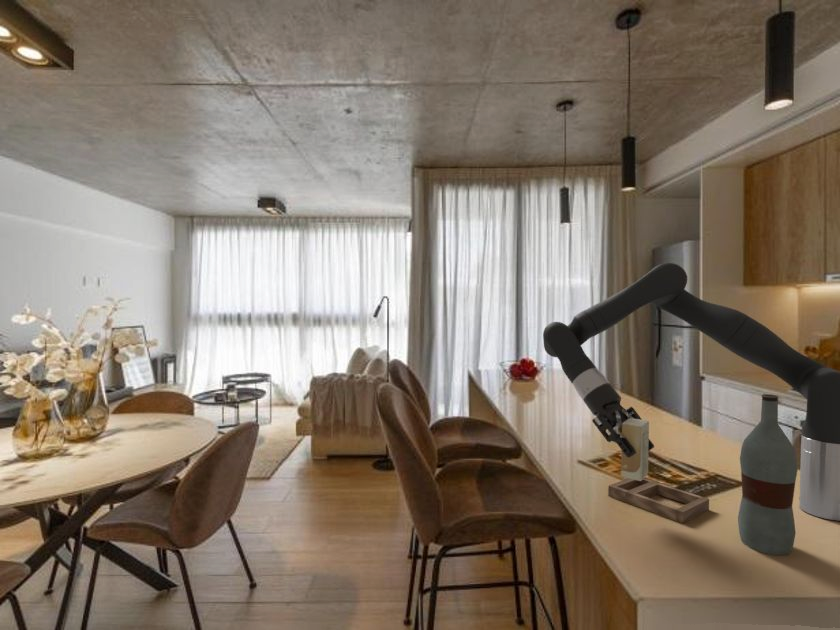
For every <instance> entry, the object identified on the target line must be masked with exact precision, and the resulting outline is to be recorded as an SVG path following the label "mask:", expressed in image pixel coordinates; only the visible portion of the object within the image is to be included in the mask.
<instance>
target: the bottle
mask: <svg viewBox="0 0 840 630" xmlns="http://www.w3.org/2000/svg"><path fill="white" fill-rule="evenodd" d="M779 398H780V397H779V396H778V395H775V394H771V393H770V394H769V393H766V394H765V393H762V395H761V407H760V408H761V409H760V411H761V412H760V421H759V422H758V423H757V424H756V425H755V427H754V428H753V429H752V431H750V432H749V434H748V435H747V436H746V437H745V438H744V439H743V441H742V445H741V448H740V455H739V461H740V462H739V464H740V473H741V492H742V493H741V494H742V496H741V500H740V505H739V508H738V509H739V510H738V515H737V523H738V524H737V525H738V531H739V532H738V533H739V537H740V540H741V542H742V543H743V544H744V545H746V546H747V547H748V548H750V549H753V550H755V551H758V552H760V553H764V554H766V555H767V554H769V555H773V556H787V555H789V554H790V553H791V552H792V550H793V547H794V544H795V539H796V538H795V537H796V533H797V532H796V525H795V516H794V510H793V502H794V497H795V496H794V495H795V488H796V487H795V486H796V482H797V481H796V480H797V479H796V478H797V474H798V470H799V467H798V460H797V459H798V458H797V453H796V450H795V447H794V445H793V444H792V442H791V441H790V439H789V438H788V437H787V435H786V433H785V432H784V430H783V429H782V427H781V426H780V424H779V423H778V422H779V421H778V420H779V419H778V418H779Z"/></svg>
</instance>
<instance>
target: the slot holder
mask: <svg viewBox="0 0 840 630" xmlns="http://www.w3.org/2000/svg"><path fill="white" fill-rule="evenodd" d="M607 487H608V490H607V492H608V493H607V494H608V495H607V496H608V497H610V498H614V499H616V500H619V501H621V502H625V503H627V504H629V505H632V506H635V507H638V508H640V509H643V510H646V511H647V512H651V513H654V514H656V515H660V516H662V517H664V518H667V519H671V520H673V521H674V522H678V523H681V524H685V523H686V522H688V521H690V520H692V519H693V518H696V517H697V516H700V515H701V514H703V513H705V512H707V511H709V509H710V499H709V498H708V497H704V496H701V495H698V494H694V493H692V492H689V491H686V490H684V489H683V490H682V489H679V488H676V487H673V486H669V485H667V484H663V483H660V482H658V481H654V480H651V479H648V478H646V477H644V479H643V480H642V481H638V480H634V479H629V478H625V479H623V480H620V481H618V482H615V483H612V484H609V485H608V486H607ZM657 495H659V496H662V497H663V498H664V497H665V498H667V499H671V500H673V501H676V502H679V503H682V504H685V505H682V506H680V507H679V508H678V507H676V506H673V505H670V504H667V503H666V502H665V503H664V502H662V501H659V500H656V499H653V498H652V497H655V496H657Z"/></svg>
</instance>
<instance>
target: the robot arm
mask: <svg viewBox="0 0 840 630" xmlns="http://www.w3.org/2000/svg"><path fill="white" fill-rule="evenodd" d="M687 284H688V275H687V272H686V271H685V269H684V267H682V266H680V265H679V264H677V263H673V262H672V263H671V262H664V263H660V264H658V265H656V266H654V267H653V268H652V269H651V270H650V271H647V273H645V274H644V275H643V276H641V277H640V278H639V279H637V280H636V281H635V282H633V283H631V284H630V285H629V286H627V287H625V288H624V289H621V290H620V291H618V292H617V293H615V294H613V295H610V297H608V298H605V299H604V300H602V301H600V302H597V303H596V304H594V305H592V306H590V307H588V308H587V309H584V310H582V311H581V312H579V313H577V314H576V315H574V316H573V318H572V321H571V322H570V323H569V324H568V325H567V324H566V323H563V322H560V321H552V322H550V323H549V324H547V325H546V326H545V328H544V330H543V333H542V339H543V347H544V351H545V352H546V353H547V355H549V357H553V358H557V359H558V361H559V362H560V367H561V369H562V371H563V373H564V375H566V377H567V379H568V380H569V382H570V383H571V384H572V385H573V387H574V389H575V391H576V392H577V395H578V396H579V397H580V398H581V399H582V401H583V402H584V404H585V405H586V407H587V408H588V409H589V411H590V413H592V415H593V416H595V417H594V418H592V420H591V421H592V423H593V424H594V426H595V427H596V428H597V429H598V431H599V432H600V433H601V435H602V436H603V438H604V439H605V440H606V442H608V443H611V442H613V443H614V444H617V446H618V447H619V448H620V450H621V452H622V451H623V452H624V454H625V455H626V456H627V457H631V456H633V455H634V454H635V453H636V451H635V450H634V448H633V447H632V446H631V444H630V443H629V441H628V440H627V439H626V438H624V434H623V433H622V423H623V422H625V421H626V420H627V419H630V418H633V419H640V420H643V419H642V417H640V415H639V414H638V412H637V411H636V409H635V408H634V407H632V406H630V407H628V408H624V407H623V406H622V405H621V401H622V396H620V394H619V392H617V390H616V389H615V388H614V386H613V385H612V384H611V382H610V381H609V380H608V379H607V377H606V376H605V375H604V374H603V372H601V371H600V370H599V369H598V367H597V366H596V365H595V364H594V363H593V361H592V360H591V359H590V357H589V356H587V354H586V353H585V350H584V349H583V347H582V345H583V344H585V343H586V342H587V341H588V340H589V339H591V338H593V337H596V336H598V335H599V334H601V333H603V332H604V331H607V330H609V329H610V328H612V327H614V326H616V325H617V324H619V322H621V321H624V319H626V318H627V317H628V316H630V315H631V314H632V313H634V312H636V311H637V310H639V309H640V308H643V307H644V306H646V305H648V304H651V305H654V306H655V307H656V308H659V309H661V310H663V311H665V312H666V313H669V314H670V315H672V316H675V317H676V318H679V319H681V320H682V321H684V322H686V323H687V324H688V325H690V326H692V327H693V328H694V329H696V330H698V331H699V332H701V333H703V334H704V335H706V336H707V337H709V338H711V339H712V340H713V341H715V342H716V343H718V344H719V345H721V346H723V347H724V348H725V349H727V350H729V351H730V352H732V353H733V354H735V355H736V356H737V357H740V358H742V359H744V360H746V361H747V362H749V363H751V364H753V365H755V366H757V367H759V368H761V369H764V370H765V371H768V372H770V373H771V374H773V375H774V376H777V378H779V379H781V380H782V381H783V382H785V383H786V384H787V385H789V386H790V387H791V388H792V389H794V391H796V392H797V393H799V394H800V395H801V396H802V397H804V398H805V399H806V410H805V411H806V414H805V420H804V422H803V423H802V425H801V439H800V440H801V445H800V469H799V471H800V472H799V474H800V475H799V496H798V497H799V498H798V499H799V502H798V503H799V504H798V506H799V507H798V508H799V509H800V510H802V511H804V512H805V513H807V514H809V515H812V516H815V517H817V518H818V517H819V518H822V519H826V520H831V521H839V522H840V371H839V370H836V369H833V368H831V367H828V366H826V365H824V364H821V363H820V362H817V361H816V360H814V359H812V358H810V357H808V356H806V355H804V354H802V353H801V352H799V351H798V350H796V349H794V348H793V347H792V346H790V345H789V344H788V343H787V342H786V341H784V340H783V339H782V338H781V337H780V336H778V335H777V334H776V333H775V332H773V331H772V329H771V330H770V328H768V327H767V326H765V325H763V324H762V323H760V322H759V321H757V320H756V319H754V318H752V317H751V316H749V315H747V314H746V313H744V312H741V311H739V310H737V309H734V308H732V307H728V306H724V305H720V304H716V303H712V302H709V301H706V300H702V299H701V298H699V297H697V296H696V295H693V294H692V293H690V292H689V291H688V290H686V289H685V288H686V287H687ZM654 448H655V445H654V443H653V441H651V440H650V438H649V448H648V452H650V451H651V450H652V449H654Z"/></svg>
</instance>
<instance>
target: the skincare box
mask: <svg viewBox="0 0 840 630" xmlns="http://www.w3.org/2000/svg"><path fill="white" fill-rule="evenodd" d="M622 433H623V434H624V438H626V439H627V440H628V441H629V443H630V444H631V446H632V447H633V448H634V450H635V451H636V453H635V454H634V455H633V456H631V457H627V456H626V455H625V454H624V452H623V451H622V450H621V453H620V454H621V456H620V457H621V461H620V462H621V463H620V464H621V466H620V468H621V469H620V477H622V478H625V479H628V478H629V479H634V480H638V481H642V480H643V479H644V478H646V476H647V475H648V473H649V451H648V448H649V439H650V438H649V437H650V420H646V419H642V420H640V419H633V418H630V419H627V420H626V421H625V422H623V423H622Z"/></svg>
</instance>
